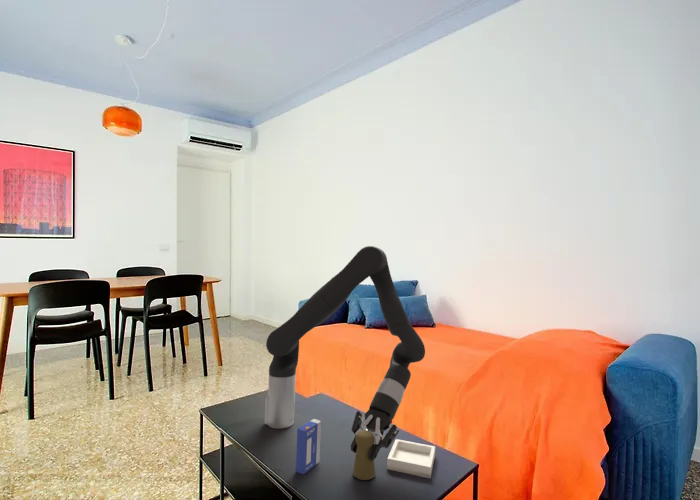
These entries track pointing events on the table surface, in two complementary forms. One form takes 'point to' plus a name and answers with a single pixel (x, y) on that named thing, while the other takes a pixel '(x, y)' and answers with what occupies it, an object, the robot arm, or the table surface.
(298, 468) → the walkman
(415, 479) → the table surface
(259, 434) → the table surface
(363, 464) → the olive pepper mill
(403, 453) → the tray
